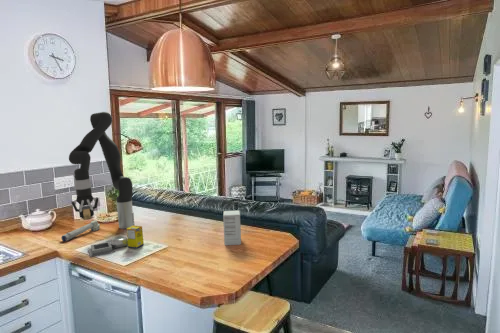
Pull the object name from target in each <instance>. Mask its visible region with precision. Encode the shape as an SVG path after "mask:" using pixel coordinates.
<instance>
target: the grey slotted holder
mask: <svg viewBox="0 0 500 333" xmlns="http://www.w3.org/2000/svg"><path fill="white" fill-rule="evenodd" d="M123 247H128V240H127V237H124V238H123V237H122V238H118V239H113V240H110V241H106V242H101V243H96V244H95V243H94V244H90V247H89V248H88V249H87V250H88V253H89V257H90V258H92V257H97V255H98V256H102V254H103V255H107V254H112V253H115V252H116V250H115V249H118V248H123ZM111 252H112V253H111Z"/></svg>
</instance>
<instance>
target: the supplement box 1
mask: <svg viewBox="0 0 500 333" xmlns="http://www.w3.org/2000/svg"><path fill="white" fill-rule="evenodd" d="M126 238H127V240H128V246H127V247H128V248H129V249H139V248H140V247H142V246H144V245H145V244H144V234H143V226H142V225H135V224H134V225H133V226H131V227H129V228H126Z"/></svg>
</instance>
